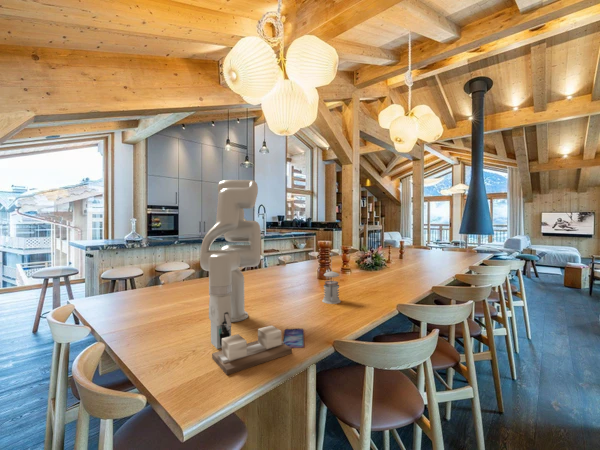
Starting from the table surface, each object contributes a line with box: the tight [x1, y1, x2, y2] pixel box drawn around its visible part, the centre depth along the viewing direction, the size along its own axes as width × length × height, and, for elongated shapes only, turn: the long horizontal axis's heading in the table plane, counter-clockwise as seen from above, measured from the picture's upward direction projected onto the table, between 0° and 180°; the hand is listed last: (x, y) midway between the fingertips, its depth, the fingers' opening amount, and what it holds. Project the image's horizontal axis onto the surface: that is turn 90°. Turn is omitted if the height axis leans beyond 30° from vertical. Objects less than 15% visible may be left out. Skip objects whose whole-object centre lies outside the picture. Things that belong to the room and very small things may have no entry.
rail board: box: [211, 324, 293, 376], centre depth 94 cm, size 12×22×7 cm, turn 126°
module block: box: [210, 320, 232, 350], centre depth 102 cm, size 6×5×8 cm
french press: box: [321, 252, 341, 305], centre depth 150 cm, size 10×12×25 cm
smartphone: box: [282, 328, 305, 349], centre depth 107 cm, size 7×1×15 cm
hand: (221, 340), depth 102 cm, fingers closed on module block, 6 cm apart
